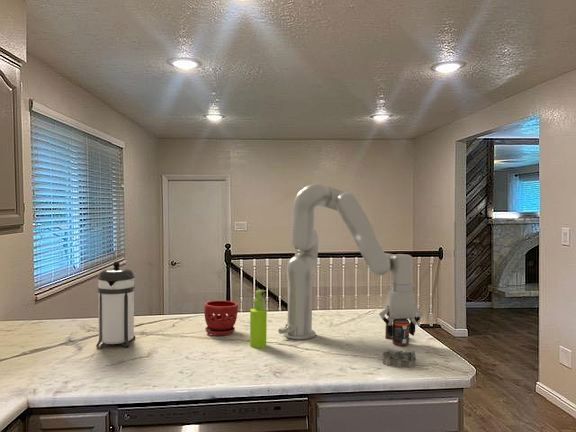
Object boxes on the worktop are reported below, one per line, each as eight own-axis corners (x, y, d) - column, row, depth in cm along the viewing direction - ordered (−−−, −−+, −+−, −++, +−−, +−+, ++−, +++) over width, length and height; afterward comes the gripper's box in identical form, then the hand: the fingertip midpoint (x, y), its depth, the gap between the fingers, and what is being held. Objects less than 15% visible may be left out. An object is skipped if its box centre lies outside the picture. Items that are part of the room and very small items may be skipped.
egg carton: (381, 366, 148) (381, 353, 148) (382, 358, 156) (382, 346, 155) (416, 369, 146) (416, 356, 146) (415, 361, 153) (415, 349, 153)
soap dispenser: (270, 343, 170) (270, 289, 169) (261, 349, 163) (262, 292, 163) (256, 341, 172) (256, 288, 171) (247, 346, 166) (247, 291, 165)
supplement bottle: (409, 347, 167) (409, 316, 167) (392, 345, 169) (393, 315, 168) (408, 342, 173) (409, 312, 173) (392, 341, 174) (392, 311, 174)
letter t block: (398, 340, 176) (398, 326, 176) (385, 338, 177) (385, 325, 177) (398, 336, 181) (398, 323, 181) (385, 335, 182) (385, 322, 182)
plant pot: (228, 339, 175) (229, 307, 174) (198, 335, 179) (198, 304, 178) (243, 330, 187) (243, 300, 187) (214, 327, 191) (214, 298, 191)
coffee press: (148, 343, 169) (148, 261, 168) (106, 353, 157) (106, 265, 156) (125, 333, 181) (125, 257, 180) (84, 342, 169) (84, 260, 168)
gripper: (419, 285, 175) (418, 331, 176) (375, 286, 173) (374, 332, 173) (428, 289, 168) (427, 337, 168) (382, 290, 165) (381, 338, 166)
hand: (400, 334), depth 171 cm, fingers open, 7 cm apart
